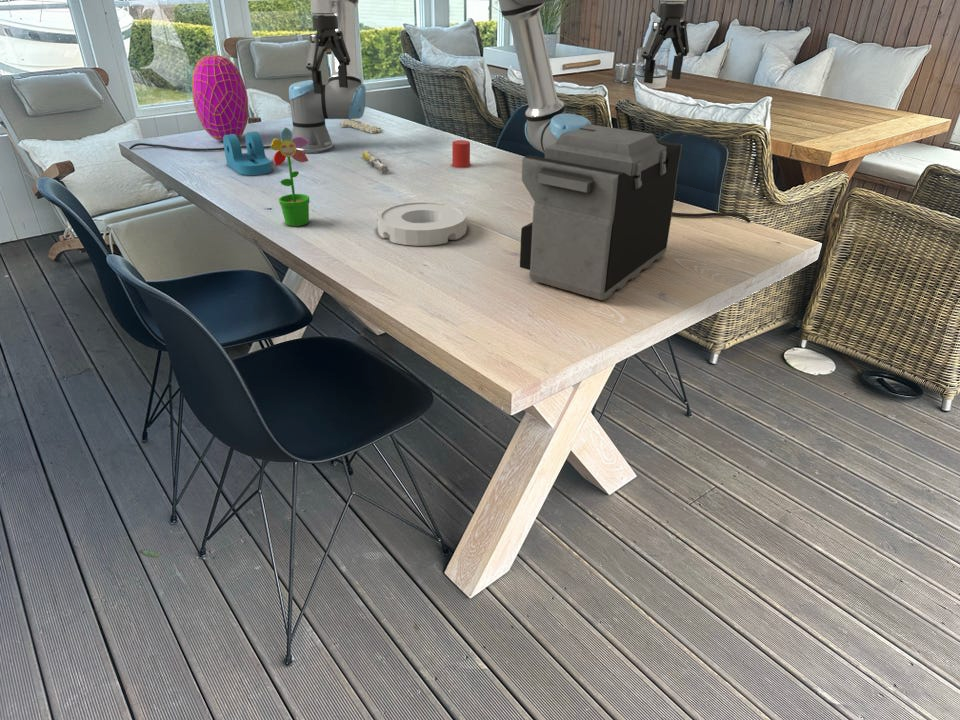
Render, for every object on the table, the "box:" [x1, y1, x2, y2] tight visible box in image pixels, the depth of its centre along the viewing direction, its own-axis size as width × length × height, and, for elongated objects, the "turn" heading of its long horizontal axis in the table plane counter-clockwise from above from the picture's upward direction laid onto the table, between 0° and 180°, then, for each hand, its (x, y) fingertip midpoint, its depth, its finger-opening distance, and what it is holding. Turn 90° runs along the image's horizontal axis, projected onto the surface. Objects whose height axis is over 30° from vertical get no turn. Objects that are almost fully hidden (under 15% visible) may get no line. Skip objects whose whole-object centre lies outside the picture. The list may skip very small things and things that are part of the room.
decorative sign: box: [340, 119, 382, 134], centre depth 285 cm, size 26×1×10 cm
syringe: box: [361, 149, 390, 175], centre depth 234 cm, size 25×4×3 cm, turn 21°
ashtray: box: [376, 200, 468, 247], centre depth 179 cm, size 23×23×4 cm
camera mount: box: [222, 131, 272, 176], centre depth 226 cm, size 18×10×10 cm, turn 35°
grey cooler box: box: [519, 124, 683, 301], centre depth 152 cm, size 37×22×30 cm, turn 144°
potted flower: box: [270, 127, 310, 227], centre depth 177 cm, size 9×8×25 cm
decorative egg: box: [191, 54, 249, 142], centre depth 255 cm, size 19×19×30 cm
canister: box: [451, 139, 471, 169], centre depth 234 cm, size 6×6×8 cm
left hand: (331, 90), depth 215 cm, fingers open, 13 cm apart
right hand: (661, 81), depth 210 cm, fingers open, 13 cm apart
